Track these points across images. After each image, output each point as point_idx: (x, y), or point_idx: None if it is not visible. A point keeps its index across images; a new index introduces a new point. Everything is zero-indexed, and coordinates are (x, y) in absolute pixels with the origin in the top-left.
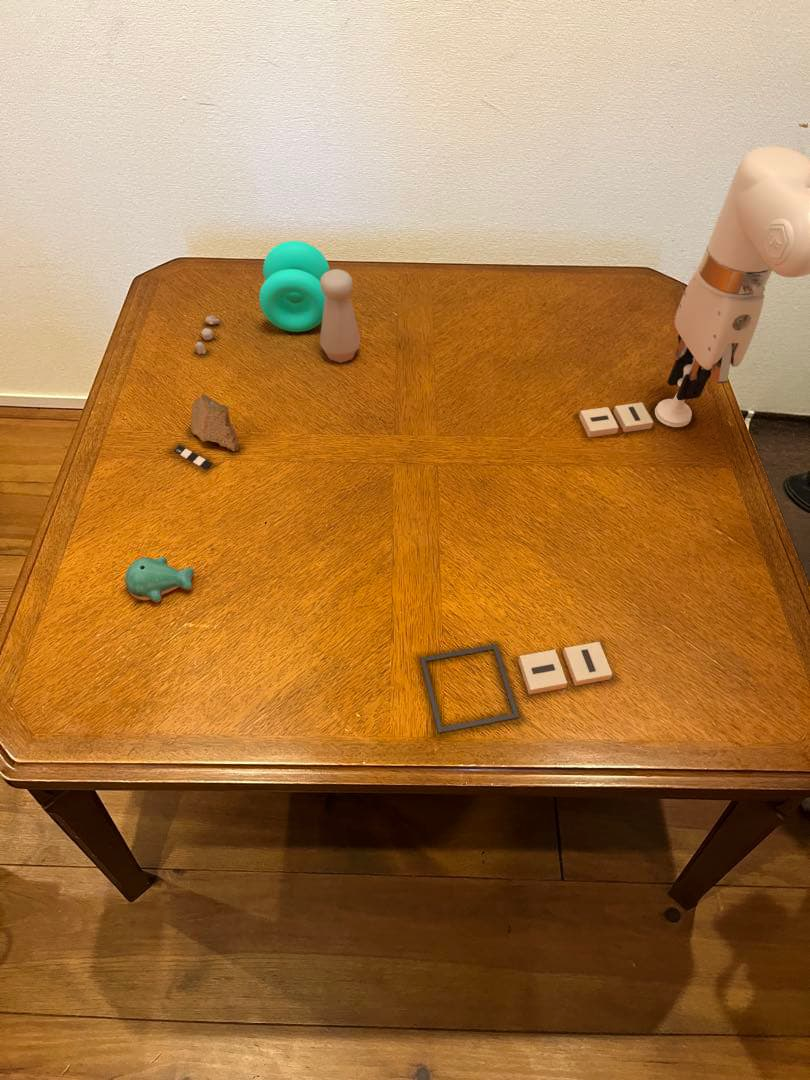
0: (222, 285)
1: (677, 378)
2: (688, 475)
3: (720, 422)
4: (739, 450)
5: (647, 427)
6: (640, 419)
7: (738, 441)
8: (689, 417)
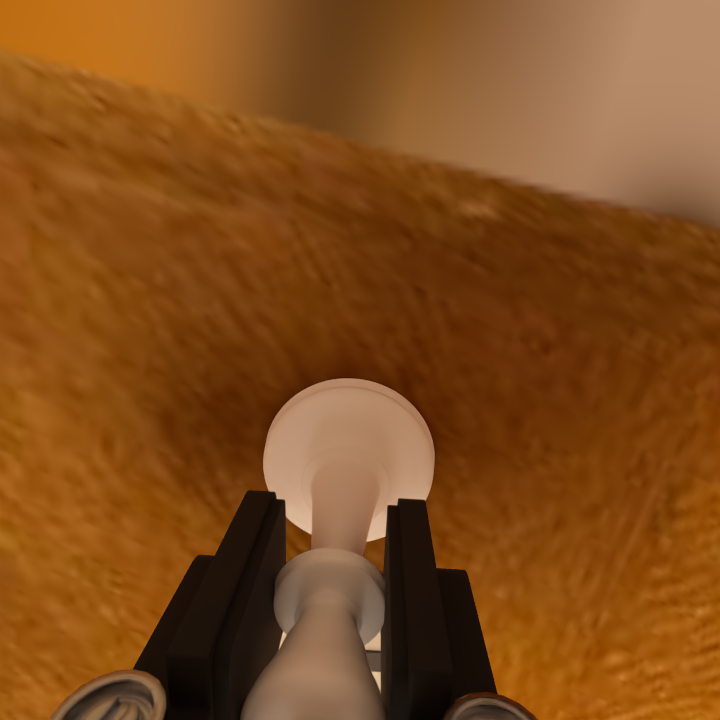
0: None
1: (273, 637)
2: (705, 552)
3: (457, 254)
4: (668, 257)
5: None
6: (379, 647)
7: (610, 229)
8: (412, 426)
